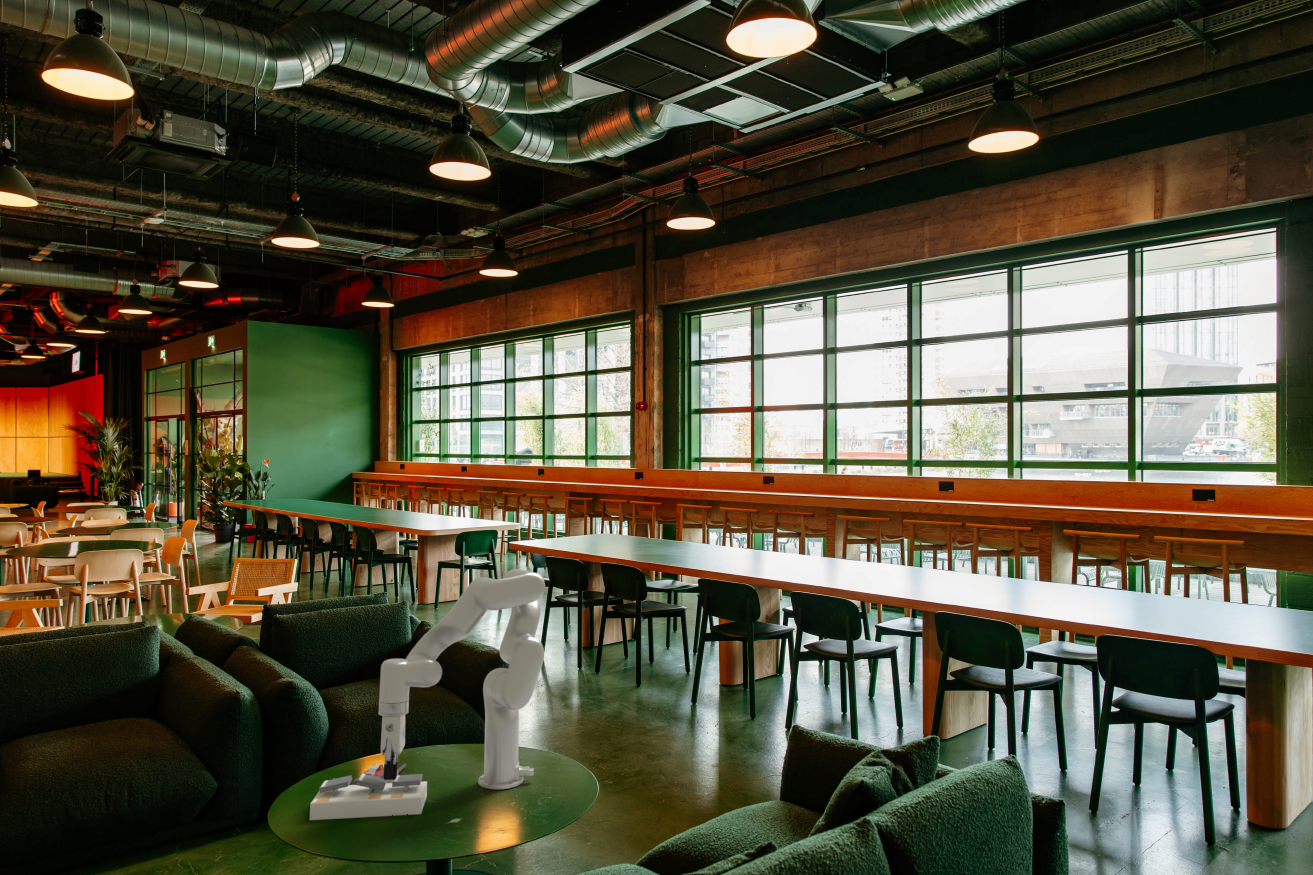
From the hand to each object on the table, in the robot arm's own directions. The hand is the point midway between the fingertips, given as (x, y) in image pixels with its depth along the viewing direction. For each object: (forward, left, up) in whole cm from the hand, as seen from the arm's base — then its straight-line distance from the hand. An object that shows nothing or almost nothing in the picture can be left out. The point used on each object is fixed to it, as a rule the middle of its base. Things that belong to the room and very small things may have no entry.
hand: (390, 778), depth 211 cm
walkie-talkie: (+6, -21, -8) cm, 23 cm away
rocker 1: (+14, 0, -1) cm, 14 cm away
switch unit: (+5, +1, -7) cm, 8 cm away
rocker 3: (-4, 0, -1) cm, 4 cm away
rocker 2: (+5, 0, -1) cm, 5 cm away
